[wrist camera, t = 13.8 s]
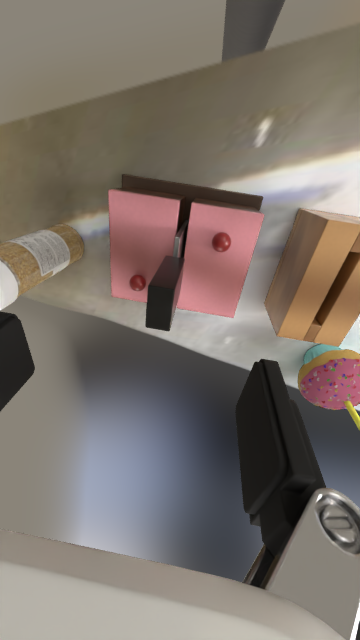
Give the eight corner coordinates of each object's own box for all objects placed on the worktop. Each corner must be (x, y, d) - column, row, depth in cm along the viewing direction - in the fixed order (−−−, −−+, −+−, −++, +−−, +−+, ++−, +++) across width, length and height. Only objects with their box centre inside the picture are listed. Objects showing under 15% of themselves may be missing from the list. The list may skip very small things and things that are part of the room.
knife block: (299, 207, 23) (328, 219, 17) (361, 217, 23) (412, 232, 17) (263, 303, 29) (276, 336, 23) (313, 312, 29) (338, 347, 23)
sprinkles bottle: (57, 262, 30) (-39, 317, 18) (42, 224, 27) (-79, 260, 16) (90, 259, 29) (12, 315, 18) (78, 220, 27) (-22, 255, 15)
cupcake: (363, 365, 32) (432, 452, 22) (301, 386, 36) (337, 469, 26) (344, 320, 29) (413, 398, 19) (278, 347, 33) (307, 426, 22)
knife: (179, 218, 24) (149, 259, 13) (194, 221, 24) (178, 264, 13) (173, 272, 28) (143, 345, 16) (186, 274, 28) (167, 349, 16)
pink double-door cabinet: (124, 174, 24) (92, 174, 17) (262, 196, 23) (280, 204, 17) (124, 283, 30) (100, 311, 24) (231, 301, 30) (236, 335, 23)
